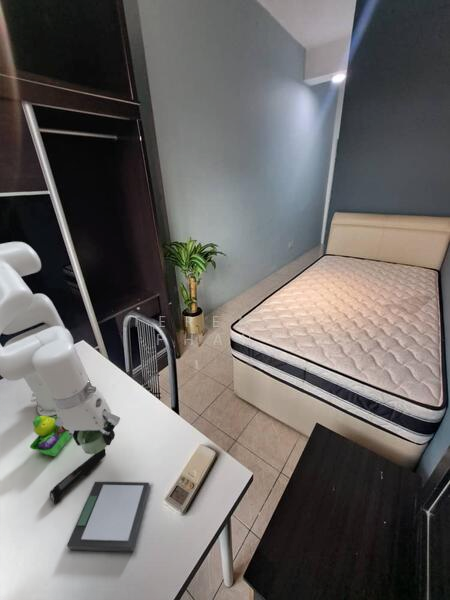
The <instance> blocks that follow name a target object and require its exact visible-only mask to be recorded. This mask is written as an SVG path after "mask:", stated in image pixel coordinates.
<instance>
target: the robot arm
mask: <svg viewBox="0 0 450 600" xmlns="http://www.w3.org/2000/svg"><path fill="white" fill-rule="evenodd" d="M41 269H42V262H41V258H40V257H39V255H38V253H37V252H36V250H34V249H33V248H32V246H30V245H29V244H28V243H26V242H23V241H11V242H4V243H0V336H1V335H12V334H17V333H18V332H21V331H24V330H27V329H29V328H31V327H34V326H37V325H39V324H41V323H43V324H42V325H40V326H38V327H36V328H33V329H30V330H27V331H25V332H22V333H20V334H19V335H16V336H14V337H12V338H10V339H9V340H8V341H6V342H5V344H4V346H3V345H2V344H1V343H0V376H1V377H2V378H3V379H5V380H6V381H11V382H15V381H19V380H22V379H24V380H25V382H26V384H27V385H28V387H29V389H30V390H31V392H32V393H31V397H32V398H31V399H30V402H31V403H37V408H36V410H37V413H38V414H39V416H42V415H43V416H46V417H53V416H57V417H58V418H57V419H56V420H55V422H54V424H56V425H58V426H60V427H61V428H62V429H63V430H66V431H68V434H69V435H72V438H73V440H74V442H75V444H76V445H77V446H81V445H80V443H79V442H78V440H77V438H78V433H79V431H80V430H99V431H101V432H102V433H103V438H104V440H105V442H106V444H107V446H110V445H111V444H112V441H113V440H114V439H115V436H116V433H115V431H114V430H115V427H116V426H118V424H119V423H120V421H121V417H120V416H118V415H116V414H113V413H112V411H111V408H110V406H109V404H108V402H107V400H106V398H105V397H104V396H103V394H102V393H101V392H100V390H99V389H98V388H97V387H96V386H93V385H92V383H91V380H90V378H89V376H88V373H87V372H86V369H85V367H84V364H83V362H82V360H81V358H80V355H79V353H78V351H77V348H76V347H75V341H74V338H73V335H72V334H71V332H70V330H69V329H68V328H67V327H65V324H64V322H63V320H62V319H61V316H60V314H59V313H58V310H57V309H56V307H55V305H54V303H53V301H52V300H51V299H50V297H48V296H47V295H46V294H44V293H33V292H32V290H31V288H30V287H29V285H27V283H26V282H25V281H24V279H23V278H22V277H25V276H28V275H31V274H35V273H38V272H40V271H41ZM104 424H106V425H107V426H106V428H105V427H104Z"/></svg>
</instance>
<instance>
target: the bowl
mask: <svg viewBox="0 0 450 600" xmlns="http://www.w3.org/2000/svg"><path fill="white" fill-rule="evenodd" d="M106 426H107V425H106V424H104V427H105V428H106ZM77 440H78V442H79V443H80V445H79V446H80V447H81V448H82V450H83V452H84V453H85V454H87V455H94V454H96V453H98V452H100V451H101V450H103V449H104V448H105V449H106V448H107V446H108V445H107V444H106V442H105V440H104V438H103V433H102V432H101V431H99V430H80V431H79V433H78V438H77Z"/></svg>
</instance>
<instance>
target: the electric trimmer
mask: <svg viewBox="0 0 450 600" xmlns="http://www.w3.org/2000/svg"><path fill="white" fill-rule="evenodd" d="M106 454H107V453H106V447H105V448H104V449H103V450H101V451H100V452H98V453H96V454H92V456H90V457H89V458H88V459H86V461H84V462H83V463H82V464H81V465H79V466H78V467H76V468H75V469H74V470H72V471H71V472H70V473H69V474H67V476H66V477H64V478H63V479H61V480H60V481H59V482H58V483H57V484H55V485H54V486H53V488H52V489H51V490H50V491H49V498H50V500H51V501H52V503H53V504H56V503H59V502H60V500H61V497H62V496H63V495H64V494H65V493H66V492H67V491H69V490H70V489H71V488H72V487H73V486H75V484H76V483H77V482H79V480H81V479H82V478H83V477H85V476H88V475H89V474H90V473H91V472H92V471H93V470H94V468H96V467H97V465H98V464H99V463H100V462H101V461H102V460H103V459H104V458H105V457H106Z"/></svg>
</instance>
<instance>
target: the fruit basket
mask: <svg viewBox="0 0 450 600" xmlns="http://www.w3.org/2000/svg"><path fill="white" fill-rule="evenodd" d="M57 418H58V417H57V415H55V417H54V418H53V417H52V416H48V417H46V416H43V415H39V416H35V418H34V419H33V420H32V425H33V427H34V428H33V429H34V433H35V434H36V435H37V437H36V438H35V439H34V441H32V443H31V444H30V445H29V448H30V449H31V450H35V451H37V452H39V453H41V454H44V455H47V456H52V457H55V458H56V457H57V456H58V454H59V453H60V451H61V450H62V449H63V448H64V446H65V445H66V444H67V443H68V442H69V440H70V439H71V438H72V437H73V435H69V434H68V431H66V430H63V429H62V428H61V427H60V426H58V425H56V424H54V422H55V420H56V419H57Z"/></svg>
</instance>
